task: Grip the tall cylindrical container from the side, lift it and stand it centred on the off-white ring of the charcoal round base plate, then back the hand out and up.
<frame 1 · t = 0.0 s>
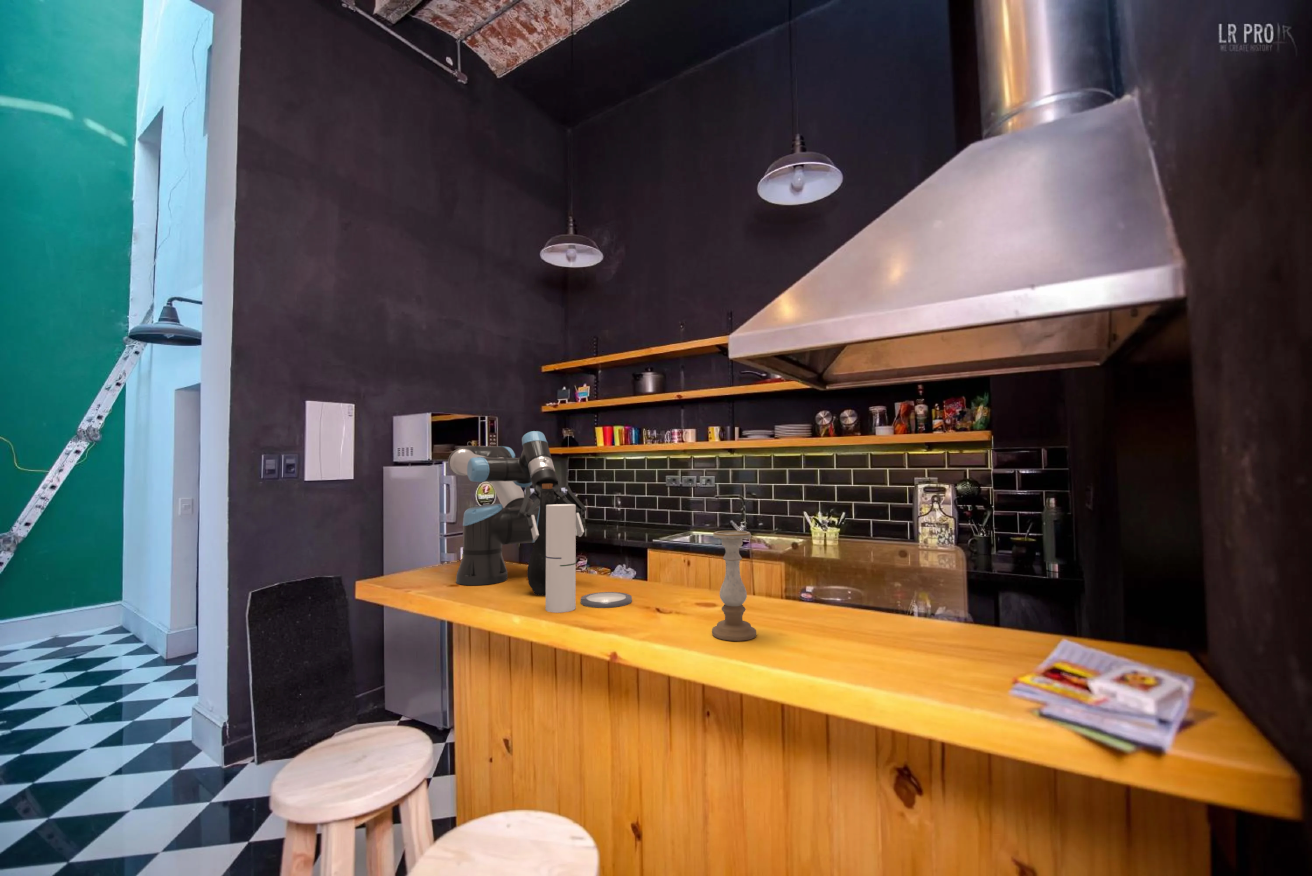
hand: (559, 536, 147), 15 cm above the table, tool tilted 35°, fingers open, 13 cm apart
bottle: (546, 593, 145), on the table
base plate: (606, 601, 134), on the table
cylindrical container: (560, 609, 127), on the table
candle holder: (734, 636, 105), on the table
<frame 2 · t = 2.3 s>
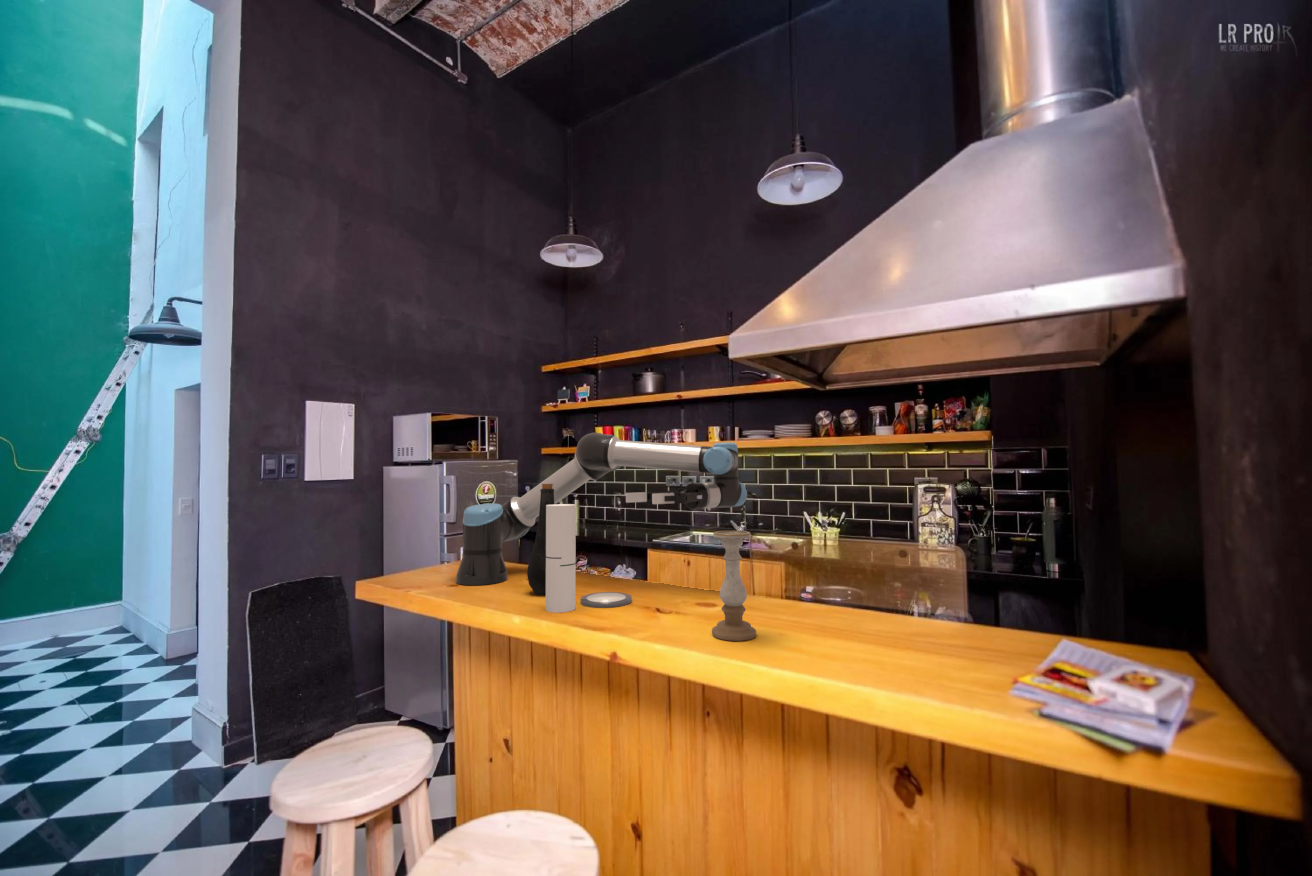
hand: (639, 498, 141), 26 cm above the table, tool horizontal, fingers open, 13 cm apart
nothing on the table moved.
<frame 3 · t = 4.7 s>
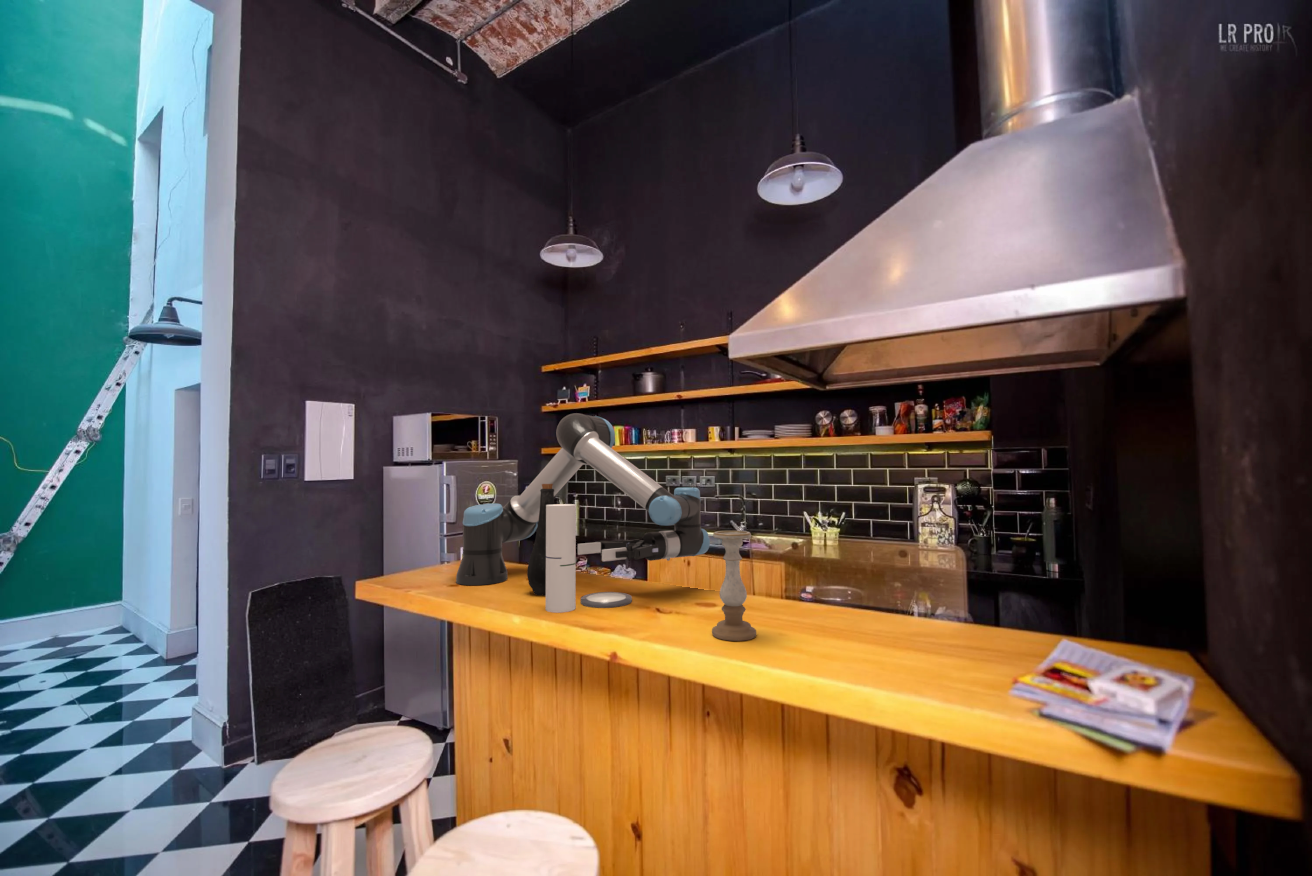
hand: (589, 552, 132), 13 cm above the table, tool horizontal, fingers open, 13 cm apart
nothing on the table moved.
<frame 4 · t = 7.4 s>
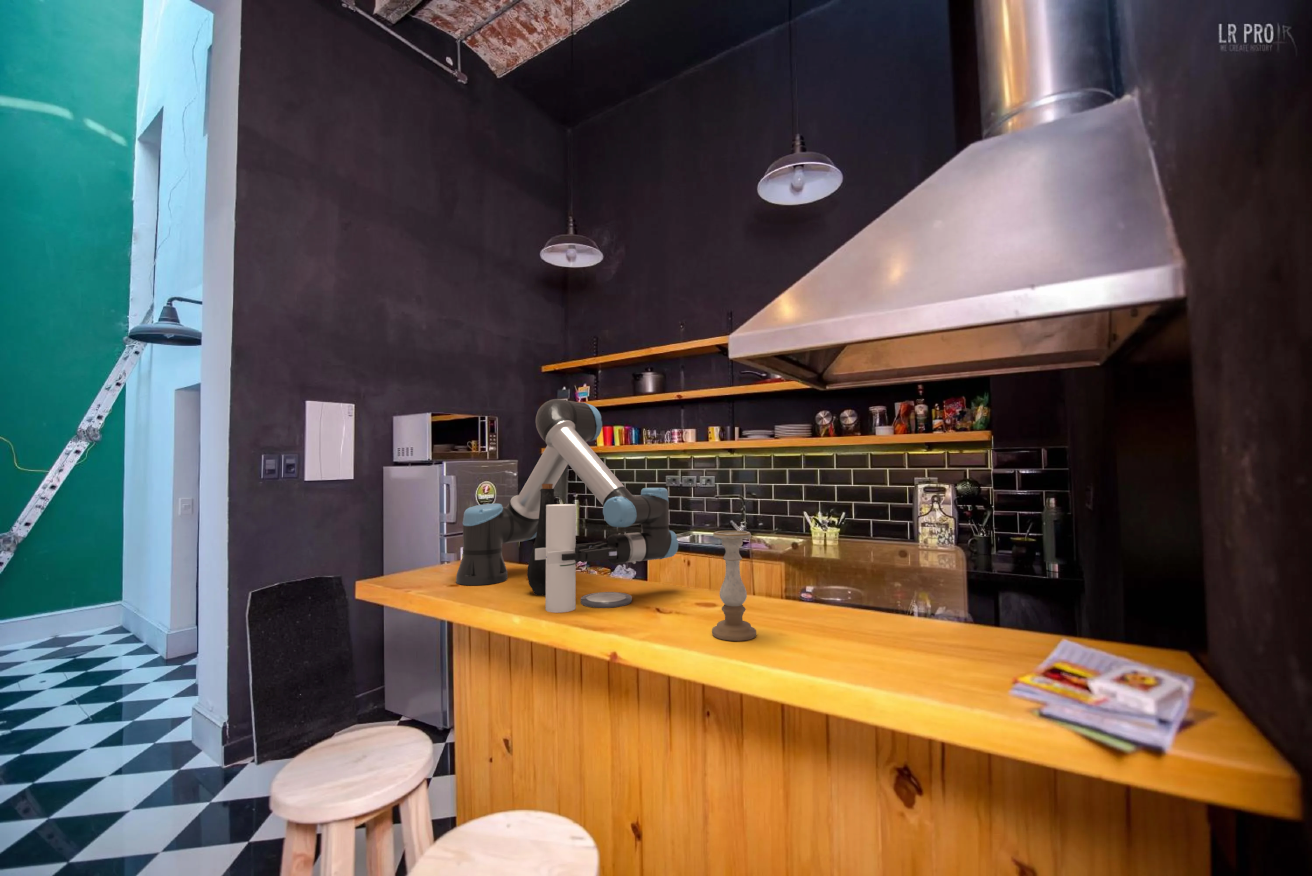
hand: (541, 556, 125), 13 cm above the table, tool horizontal, fingers closed on cylindrical container, 7 cm apart
cylindrical container: (560, 609, 127), on the table, touching gripper
everything else where it was.
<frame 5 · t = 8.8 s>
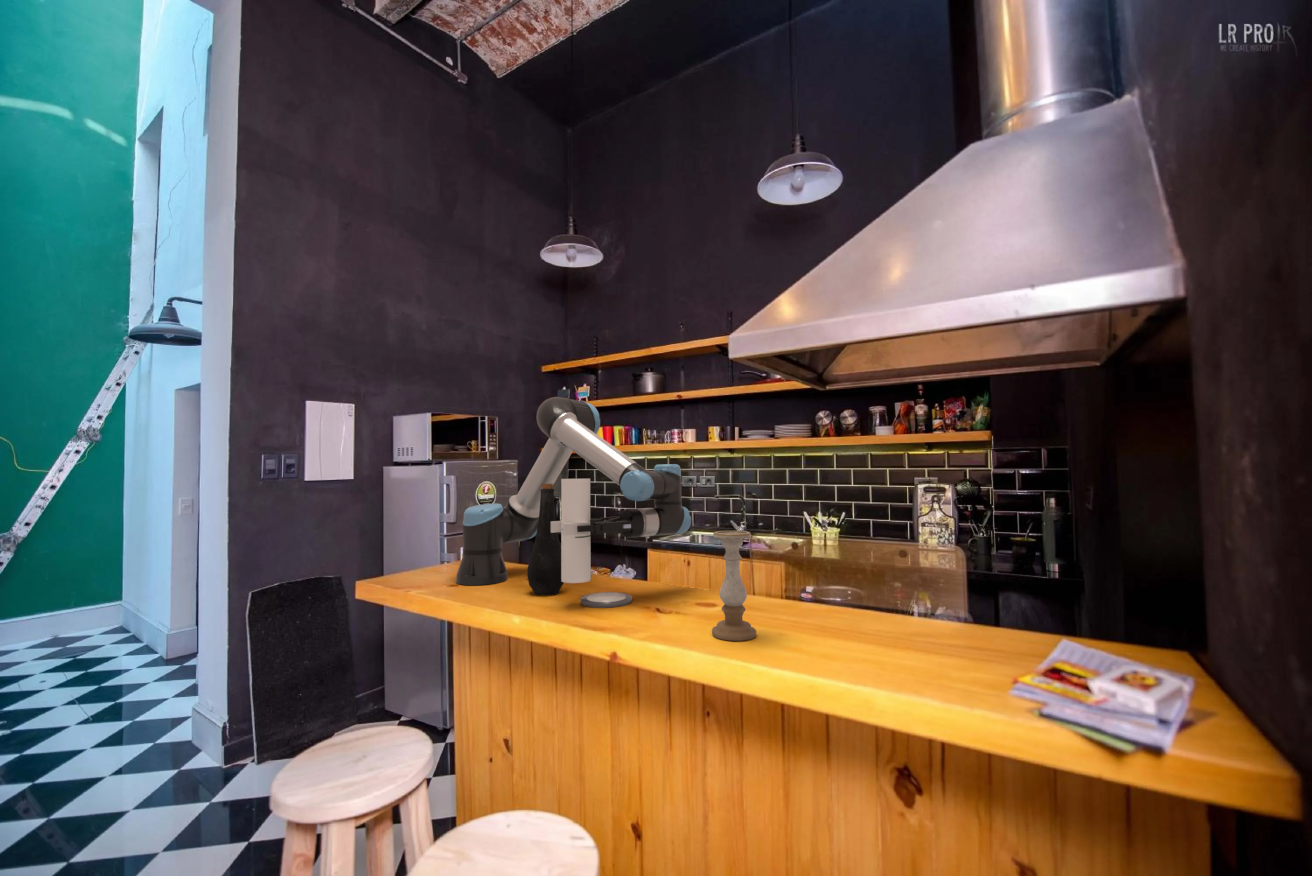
hand: (557, 528, 128), 19 cm above the table, tool horizontal, fingers closed on cylindrical container, 7 cm apart
cylindrical container: (576, 581, 129), point 6 cm above the table, touching gripper
everything else where it was.
when the fingers open (16 cm above the table, at t = 10.5 s): cylindrical container drops 1 cm, resting on base plate.
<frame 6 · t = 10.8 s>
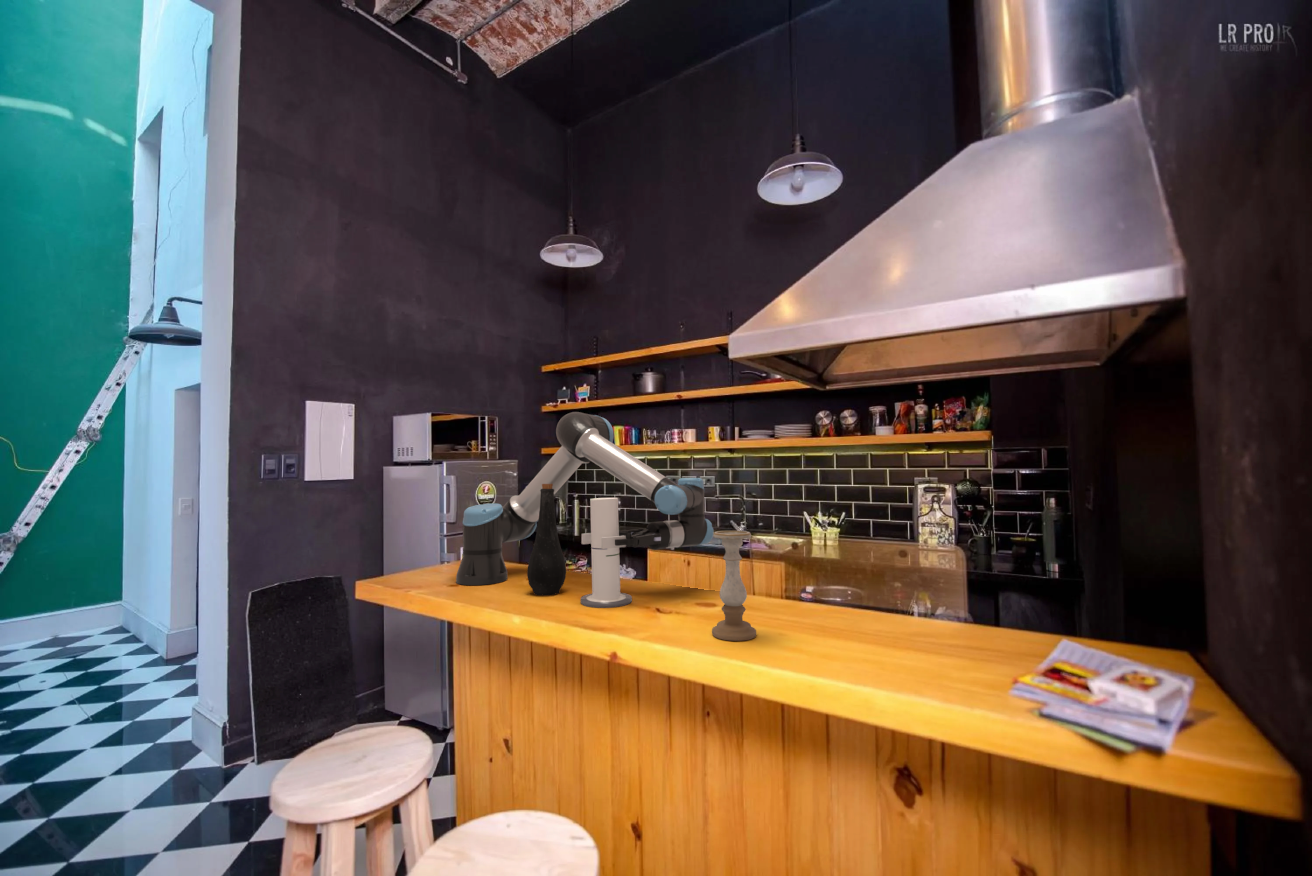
hand: (591, 541, 133), 16 cm above the table, tool horizontal, fingers open, 10 cm apart
cylindrical container: (606, 597, 134), point 1 cm above the table, touching base plate
everything else where it was.
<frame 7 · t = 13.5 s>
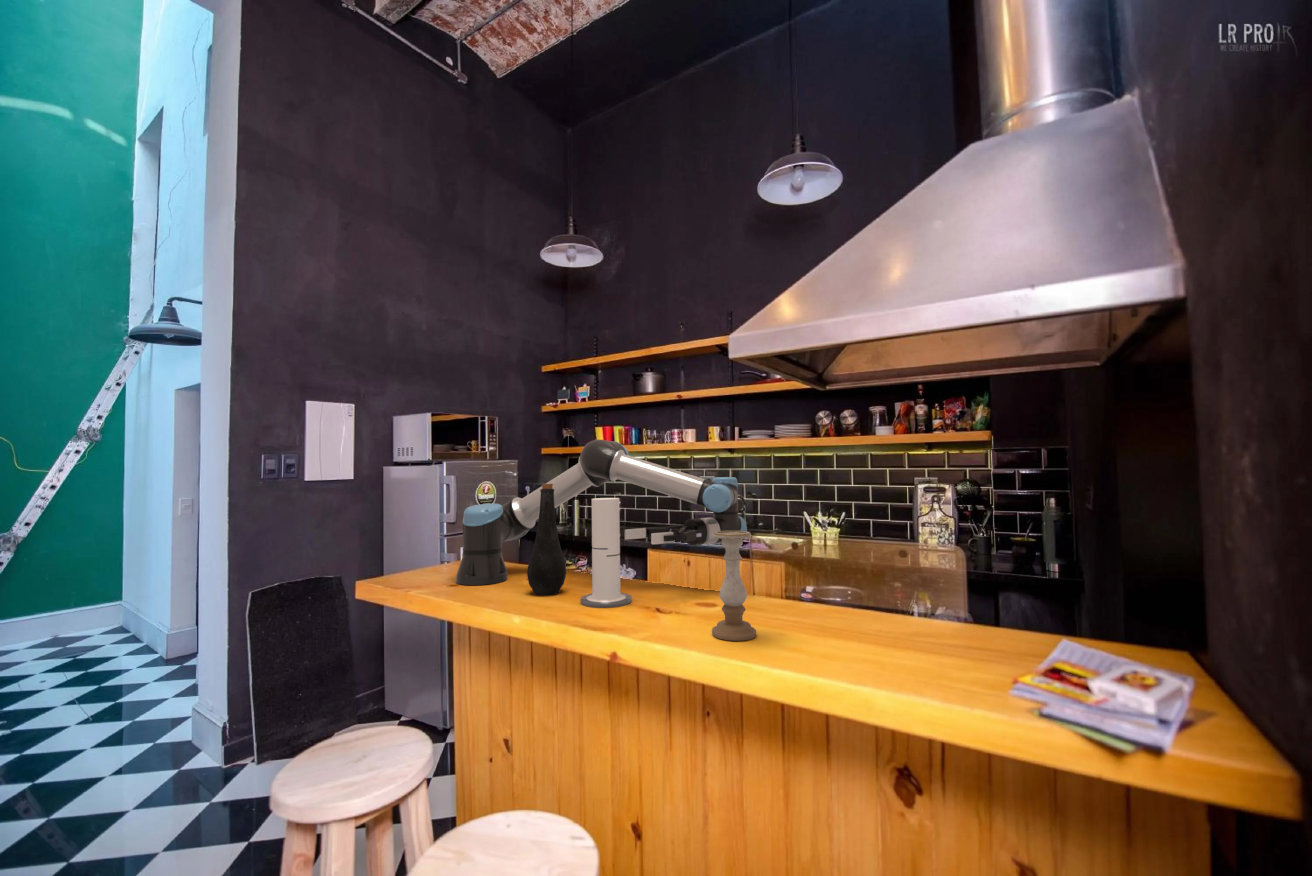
hand: (638, 536, 140), 16 cm above the table, tool horizontal, fingers open, 13 cm apart
nothing on the table moved.
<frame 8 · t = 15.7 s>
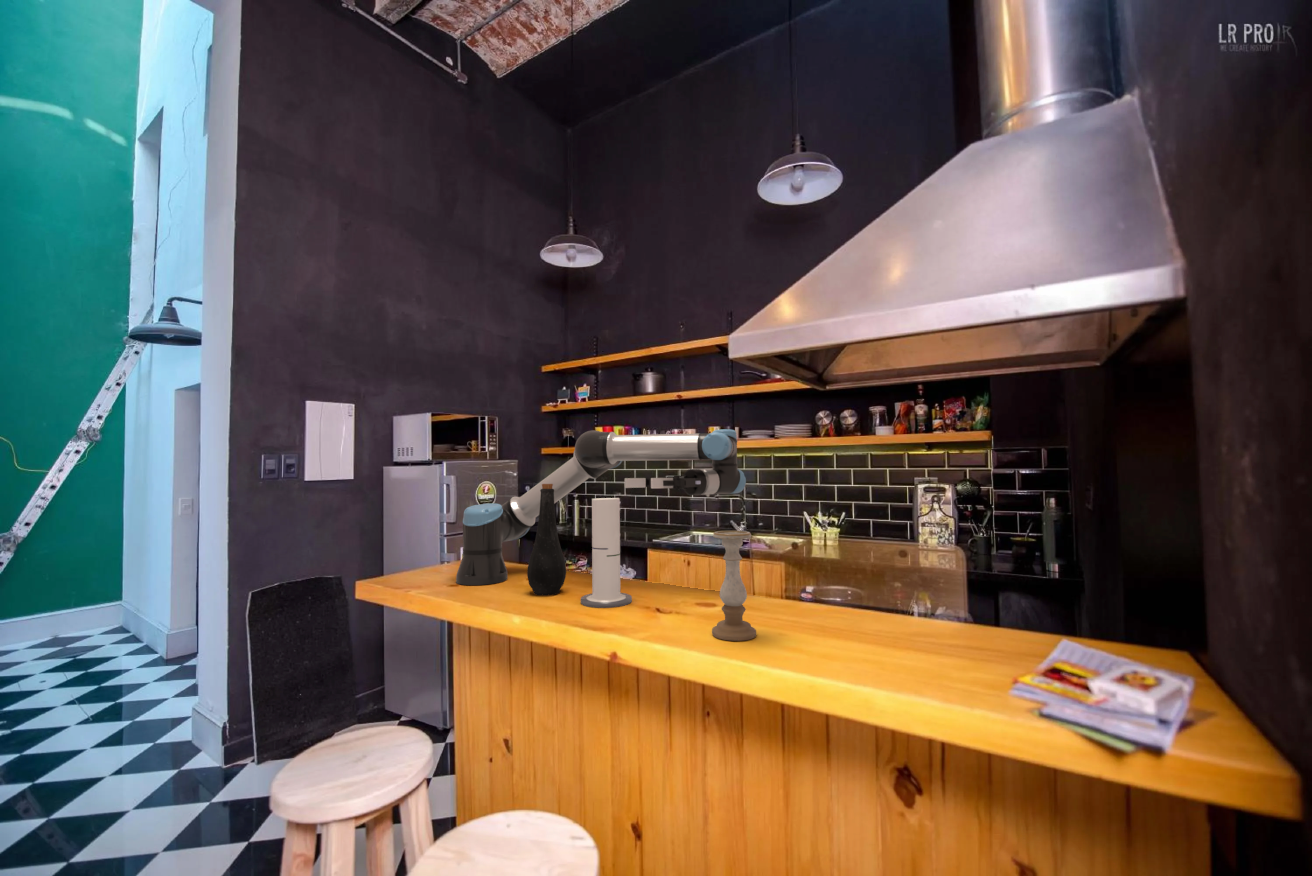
hand: (637, 483, 142), 30 cm above the table, tool horizontal, fingers open, 13 cm apart
nothing on the table moved.
at the end: cylindrical container 0.1 cm from the base plate (horizontally); cylindrical container tilted 0°; the gripper is holding nothing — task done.
